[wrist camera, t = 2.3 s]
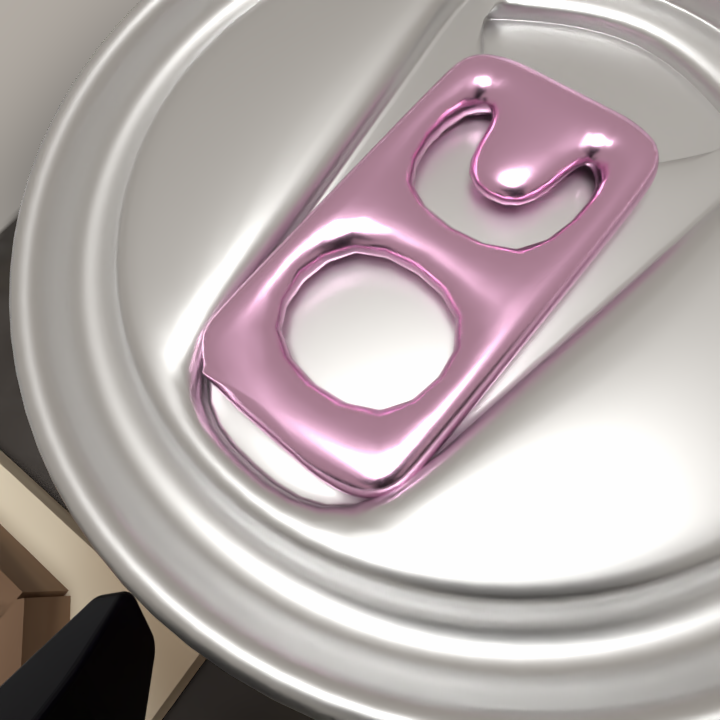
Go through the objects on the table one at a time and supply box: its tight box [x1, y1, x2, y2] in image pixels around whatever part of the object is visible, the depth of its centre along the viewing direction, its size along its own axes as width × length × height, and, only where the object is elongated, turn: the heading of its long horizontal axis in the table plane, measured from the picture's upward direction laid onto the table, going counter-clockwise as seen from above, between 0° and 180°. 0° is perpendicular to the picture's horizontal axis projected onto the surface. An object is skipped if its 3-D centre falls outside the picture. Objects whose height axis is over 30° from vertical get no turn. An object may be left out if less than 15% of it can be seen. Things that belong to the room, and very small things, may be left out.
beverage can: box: [9, 0, 720, 720], centre depth 10 cm, size 6×6×15 cm
